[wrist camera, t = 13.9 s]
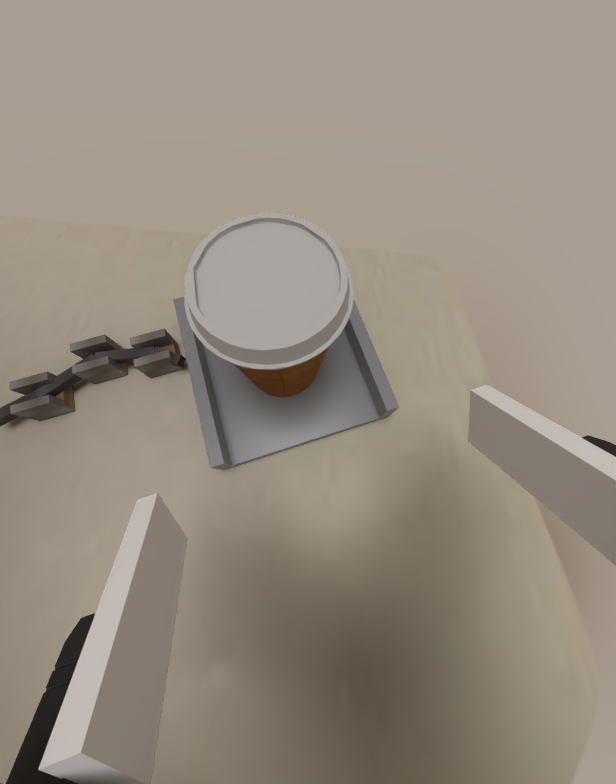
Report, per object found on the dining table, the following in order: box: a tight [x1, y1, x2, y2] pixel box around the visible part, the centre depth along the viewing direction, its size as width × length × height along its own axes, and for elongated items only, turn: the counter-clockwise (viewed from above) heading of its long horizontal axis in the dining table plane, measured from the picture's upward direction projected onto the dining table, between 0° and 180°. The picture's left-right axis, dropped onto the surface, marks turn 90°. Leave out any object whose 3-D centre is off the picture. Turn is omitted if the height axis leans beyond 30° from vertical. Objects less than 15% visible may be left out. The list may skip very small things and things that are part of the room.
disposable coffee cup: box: [184, 213, 354, 397], centre depth 22 cm, size 10×10×12 cm
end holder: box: [174, 297, 399, 470], centre depth 27 cm, size 15×15×4 cm
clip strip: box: [0, 329, 186, 426], centre depth 27 cm, size 16×5×3 cm, turn 108°
